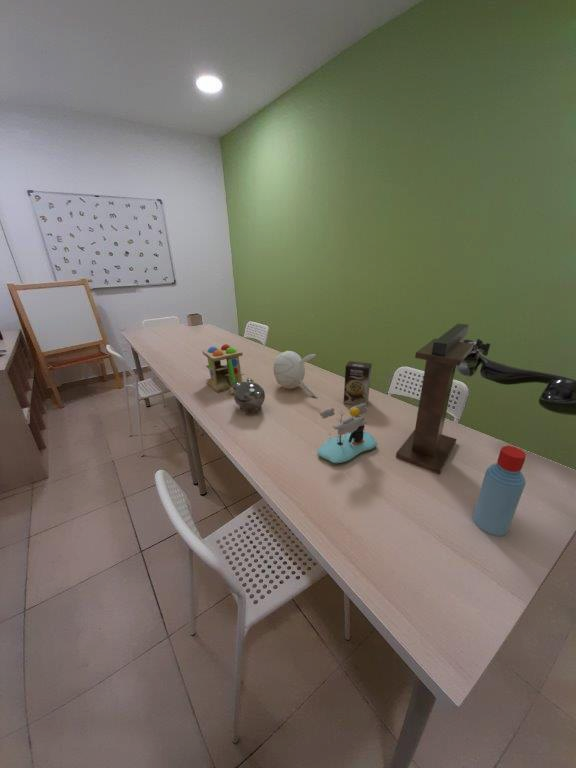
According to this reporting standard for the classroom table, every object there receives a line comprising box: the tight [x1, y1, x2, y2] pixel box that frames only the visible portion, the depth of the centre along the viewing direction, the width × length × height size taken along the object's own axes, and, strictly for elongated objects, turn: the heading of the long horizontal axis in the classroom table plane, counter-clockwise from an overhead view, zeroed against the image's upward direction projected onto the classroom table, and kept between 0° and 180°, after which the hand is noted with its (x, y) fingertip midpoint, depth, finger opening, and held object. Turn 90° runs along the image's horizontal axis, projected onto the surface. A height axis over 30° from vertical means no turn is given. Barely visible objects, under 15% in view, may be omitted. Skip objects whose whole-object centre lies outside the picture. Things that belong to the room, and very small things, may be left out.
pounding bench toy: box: [202, 344, 247, 396], centre depth 135 cm, size 23×14×18 cm, turn 32°
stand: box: [395, 338, 474, 475], centre depth 84 cm, size 12×18×32 cm, turn 140°
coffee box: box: [343, 360, 373, 406], centre depth 117 cm, size 9×6×16 cm
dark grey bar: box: [432, 323, 469, 356], centre depth 80 cm, size 3×24×3 cm, turn 140°
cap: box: [496, 445, 527, 472], centre depth 59 cm, size 4×4×3 cm
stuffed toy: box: [273, 350, 318, 399], centre depth 130 cm, size 19×14×25 cm
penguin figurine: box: [317, 403, 378, 464], centre depth 89 cm, size 20×11×15 cm, turn 119°
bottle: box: [472, 462, 526, 537], centre depth 62 cm, size 7×7×18 cm
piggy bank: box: [233, 377, 266, 416], centre depth 115 cm, size 11×15×12 cm
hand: (462, 339), depth 94 cm, fingers open, 8 cm apart
